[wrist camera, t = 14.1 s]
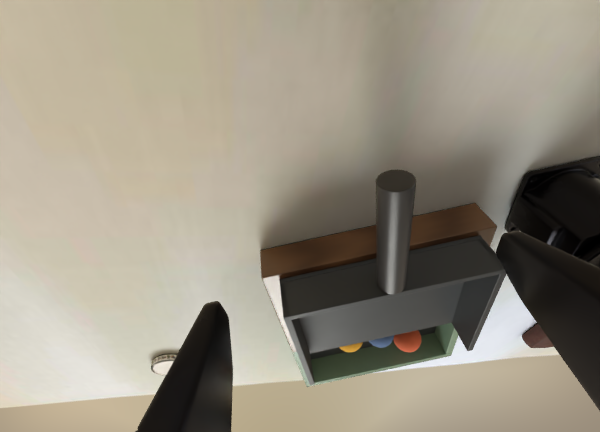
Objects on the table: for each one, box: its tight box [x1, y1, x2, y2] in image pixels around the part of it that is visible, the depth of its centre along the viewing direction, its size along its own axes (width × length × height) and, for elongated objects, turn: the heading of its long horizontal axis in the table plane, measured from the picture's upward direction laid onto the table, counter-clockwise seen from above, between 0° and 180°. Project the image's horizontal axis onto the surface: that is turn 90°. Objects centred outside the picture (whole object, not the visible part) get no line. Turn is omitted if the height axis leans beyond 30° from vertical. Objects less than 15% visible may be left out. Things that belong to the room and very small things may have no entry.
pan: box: [279, 170, 506, 385], centre depth 23 cm, size 22×16×4 cm
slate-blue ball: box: [369, 335, 394, 348], centre depth 34 cm, size 3×3×3 cm
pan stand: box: [260, 203, 497, 352], centre depth 29 cm, size 19×13×3 cm
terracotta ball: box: [393, 330, 421, 352], centre depth 36 cm, size 3×3×3 cm
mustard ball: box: [339, 342, 363, 352], centre depth 34 cm, size 3×3×3 cm
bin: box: [293, 323, 458, 387], centre depth 36 cm, size 19×10×3 cm, turn 100°
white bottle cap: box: [151, 355, 177, 375], centre depth 35 cm, size 4×4×1 cm
